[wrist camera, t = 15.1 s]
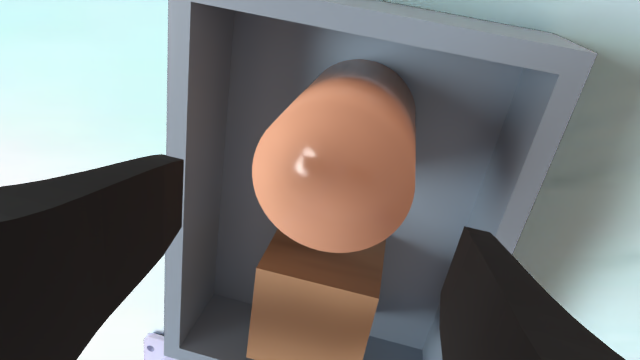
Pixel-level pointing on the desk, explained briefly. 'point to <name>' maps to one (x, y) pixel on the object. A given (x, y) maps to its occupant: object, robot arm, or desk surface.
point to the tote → (431, 149)
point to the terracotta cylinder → (340, 159)
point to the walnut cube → (313, 302)
